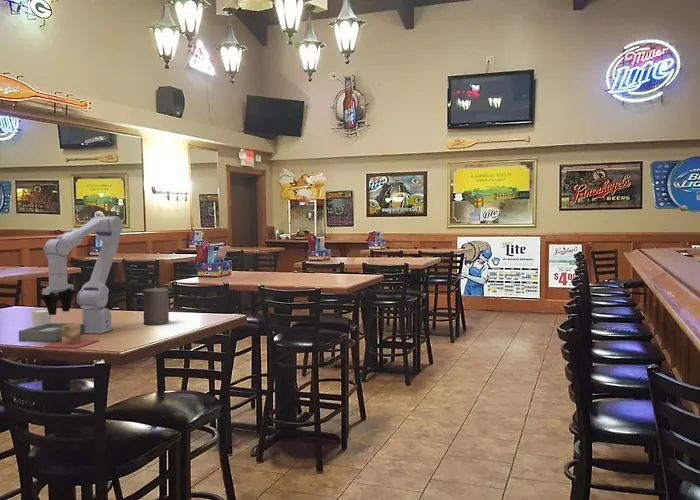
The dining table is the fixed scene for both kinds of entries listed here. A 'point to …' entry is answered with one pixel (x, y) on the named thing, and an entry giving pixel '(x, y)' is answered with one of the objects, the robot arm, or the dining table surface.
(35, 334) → the grey green tray
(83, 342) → the bar mat
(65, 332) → the maple block
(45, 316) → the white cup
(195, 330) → the dining table surface
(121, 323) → the dining table surface
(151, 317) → the pillar candle
